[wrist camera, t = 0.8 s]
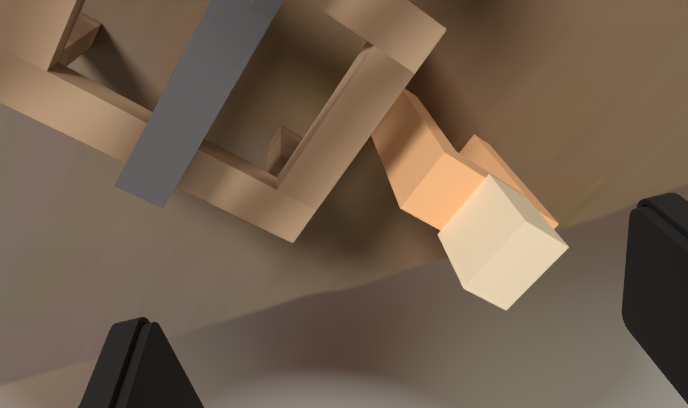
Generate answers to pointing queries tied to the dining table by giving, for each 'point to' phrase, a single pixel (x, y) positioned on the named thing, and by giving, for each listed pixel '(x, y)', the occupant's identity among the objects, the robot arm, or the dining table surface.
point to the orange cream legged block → (468, 203)
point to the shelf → (209, 160)
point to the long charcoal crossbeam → (195, 95)
